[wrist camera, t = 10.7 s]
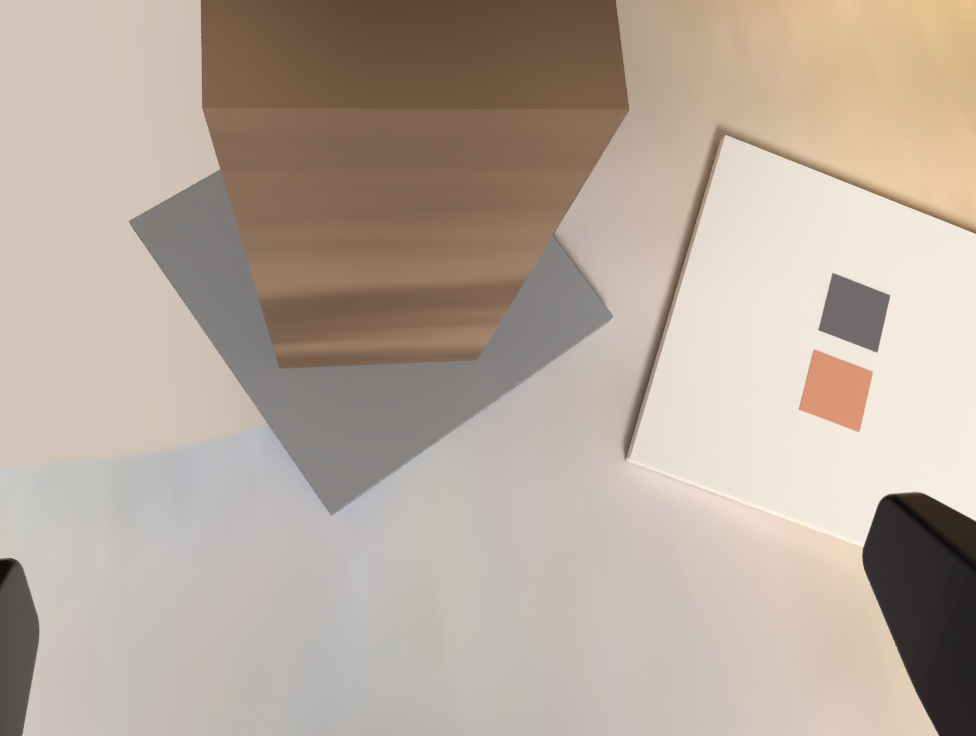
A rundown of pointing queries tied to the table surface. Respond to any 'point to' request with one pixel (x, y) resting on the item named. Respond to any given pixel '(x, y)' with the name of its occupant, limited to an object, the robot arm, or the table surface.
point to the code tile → (815, 350)
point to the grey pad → (362, 388)
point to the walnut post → (403, 160)
